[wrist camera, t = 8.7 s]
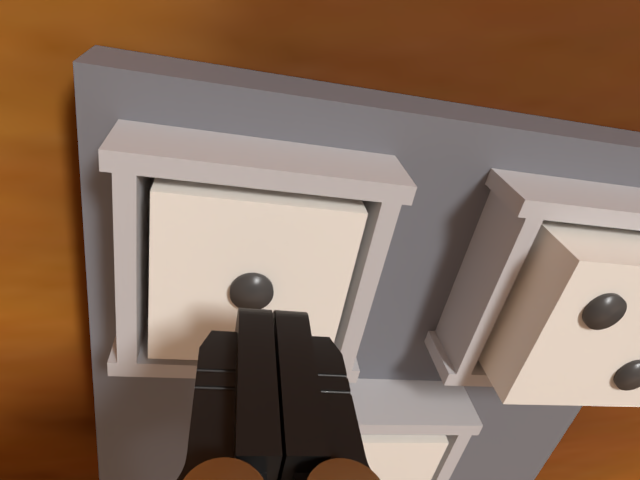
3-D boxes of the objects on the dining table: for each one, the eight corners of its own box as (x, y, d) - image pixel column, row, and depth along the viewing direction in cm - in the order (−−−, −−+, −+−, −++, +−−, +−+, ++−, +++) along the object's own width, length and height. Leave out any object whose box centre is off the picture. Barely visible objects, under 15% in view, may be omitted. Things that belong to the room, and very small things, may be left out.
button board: (690, 140, 17) (803, 191, 13) (506, 455, 25) (547, 536, 22) (95, 45, 13) (42, 83, 9) (111, 457, 21) (87, 556, 18)
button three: (430, 397, 19) (450, 447, 17) (396, 477, 21) (410, 528, 19) (301, 394, 18) (308, 446, 16) (281, 479, 20) (285, 533, 18)
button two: (686, 236, 14) (750, 279, 13) (606, 360, 17) (650, 411, 15) (537, 220, 13) (583, 264, 12) (475, 354, 16) (505, 408, 14)
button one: (352, 179, 14) (369, 216, 12) (319, 319, 16) (329, 368, 14) (162, 156, 12) (149, 194, 11) (158, 310, 15) (147, 362, 13)
